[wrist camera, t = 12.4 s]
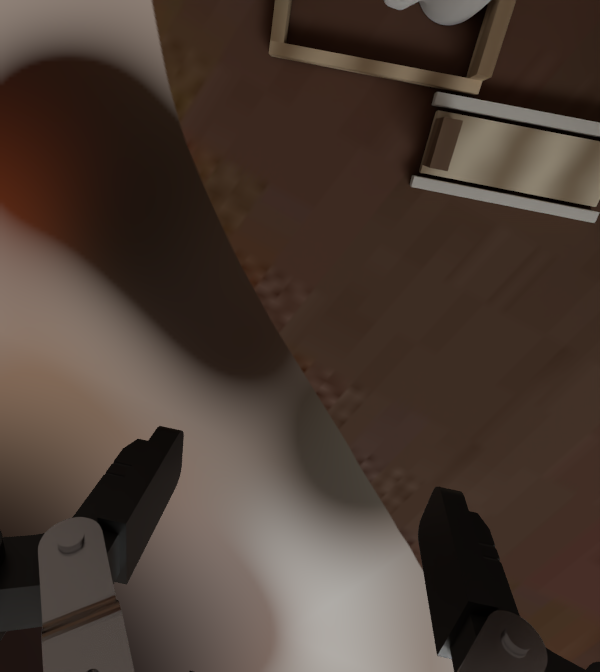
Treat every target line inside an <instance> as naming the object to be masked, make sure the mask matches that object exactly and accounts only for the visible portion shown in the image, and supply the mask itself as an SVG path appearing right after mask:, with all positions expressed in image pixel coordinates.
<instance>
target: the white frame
mask: <svg viewBox="0 0 600 672" xmlns="http://www.w3.org/2000/svg"><path fill="white" fill-rule="evenodd" d="M515 2H516V0H491V1H490V2H489V3H488V6H487V9H486V12H485V16H484V19H483V22H482V26H481V29H480V32H479V36H478V39H477V42H476V46H475V49H474V52H473V56H472V59H471V62H470V66H469V69H468V72H467V76H466V78H465V77H459V76H454V75H449V74H444V73H438V72H433V71H428V70H423V69H417V68H412V67H407V66H402V65H396V64H391V63H386V62H381V61H376V60H370V59H365V58H360V57H355V56H349V55H344V54H339V53H334V52H328V51H323V50H318V49H313V48H307V47H302V46H297V45H292V44H286V41H287V33H288V26H289V18H290V11H291V3H292V0H275V5H274V14H273V22H272V30H271V39H270V47H269V54H270V55H271V56H272V57H277V58H283V59H288V60H293V61H298V62H303V63H309V64H314V65H319V66H324V67H330V68H335V69H340V70H345V71H350V72H356V73H361V74H366V75H371V76H376V77H382V78H387V79H392V80H397V81H403V82H408V83H413V84H418V85H423V86H429V87H434V88H439V89H444V90H450V91H455V92H460V93H465V94H470V95H477V94H479V91H480V87H481V84H482V81H484V80H486V79H488V78H491V77H492V74H493V70H494V67H495V64H496V61H497V58H498V55H499V52H500V49H501V46H502V43H503V39H504V36H505V33H506V30H507V27H508V24H509V21H510V18H511V15H512V12H513V8H514V5H515Z"/></svg>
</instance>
